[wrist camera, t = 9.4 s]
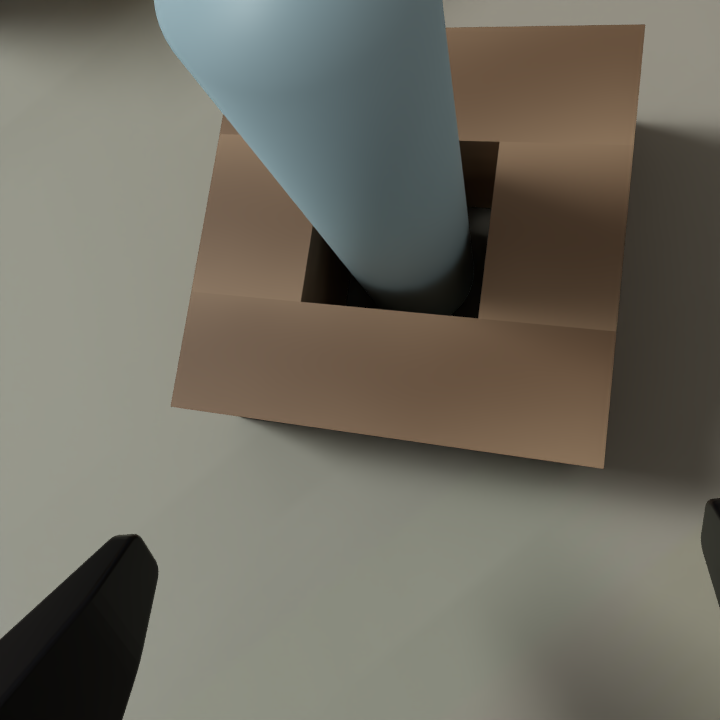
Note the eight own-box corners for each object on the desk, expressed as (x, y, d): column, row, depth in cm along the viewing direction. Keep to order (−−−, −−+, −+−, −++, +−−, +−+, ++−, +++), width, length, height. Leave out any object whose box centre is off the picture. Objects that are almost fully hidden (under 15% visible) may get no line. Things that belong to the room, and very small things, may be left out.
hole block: (578, 465, 16) (603, 468, 13) (237, 416, 19) (170, 406, 15) (612, 118, 18) (644, 24, 14) (287, 112, 20) (238, 31, 16)
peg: (491, 299, 18) (481, 4, 6) (389, 341, 18) (200, 142, 7) (449, 204, 18) (369, -224, 7) (352, 247, 19) (122, -84, 7)
